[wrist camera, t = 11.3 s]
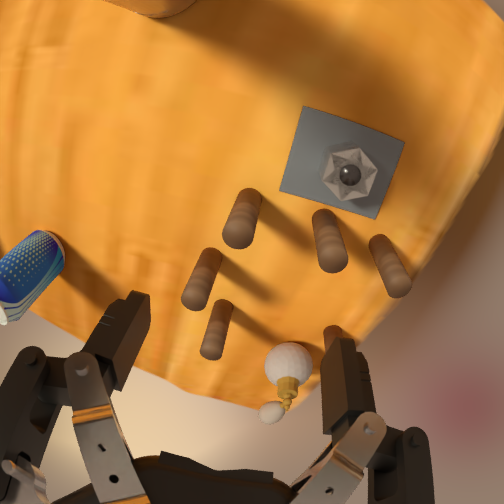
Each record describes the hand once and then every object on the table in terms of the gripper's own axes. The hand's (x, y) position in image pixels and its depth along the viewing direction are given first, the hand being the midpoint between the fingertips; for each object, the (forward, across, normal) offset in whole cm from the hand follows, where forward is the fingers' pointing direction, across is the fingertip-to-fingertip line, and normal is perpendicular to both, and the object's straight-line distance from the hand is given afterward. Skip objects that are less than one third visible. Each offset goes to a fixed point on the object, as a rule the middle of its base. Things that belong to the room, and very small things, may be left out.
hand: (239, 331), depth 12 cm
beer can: (+24, +33, +19) cm, 45 cm away
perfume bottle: (+23, -10, +28) cm, 38 cm away
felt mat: (+24, -8, -3) cm, 25 cm away
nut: (+23, -8, -3) cm, 25 cm away
